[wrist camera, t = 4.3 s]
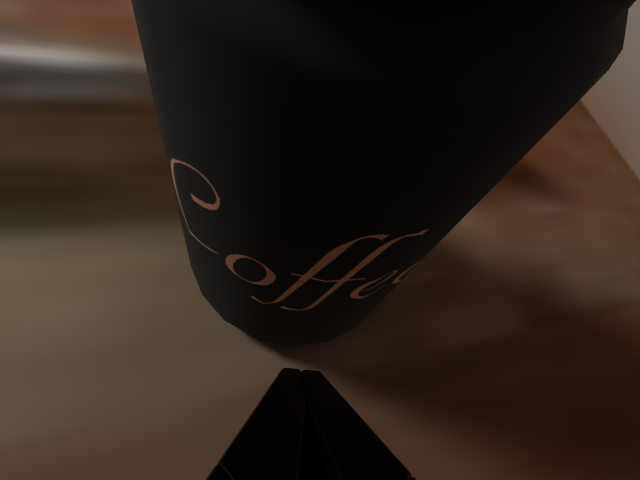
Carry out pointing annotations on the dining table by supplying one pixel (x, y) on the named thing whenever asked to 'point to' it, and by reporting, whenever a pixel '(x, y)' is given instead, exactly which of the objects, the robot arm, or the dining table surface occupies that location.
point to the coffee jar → (350, 135)
